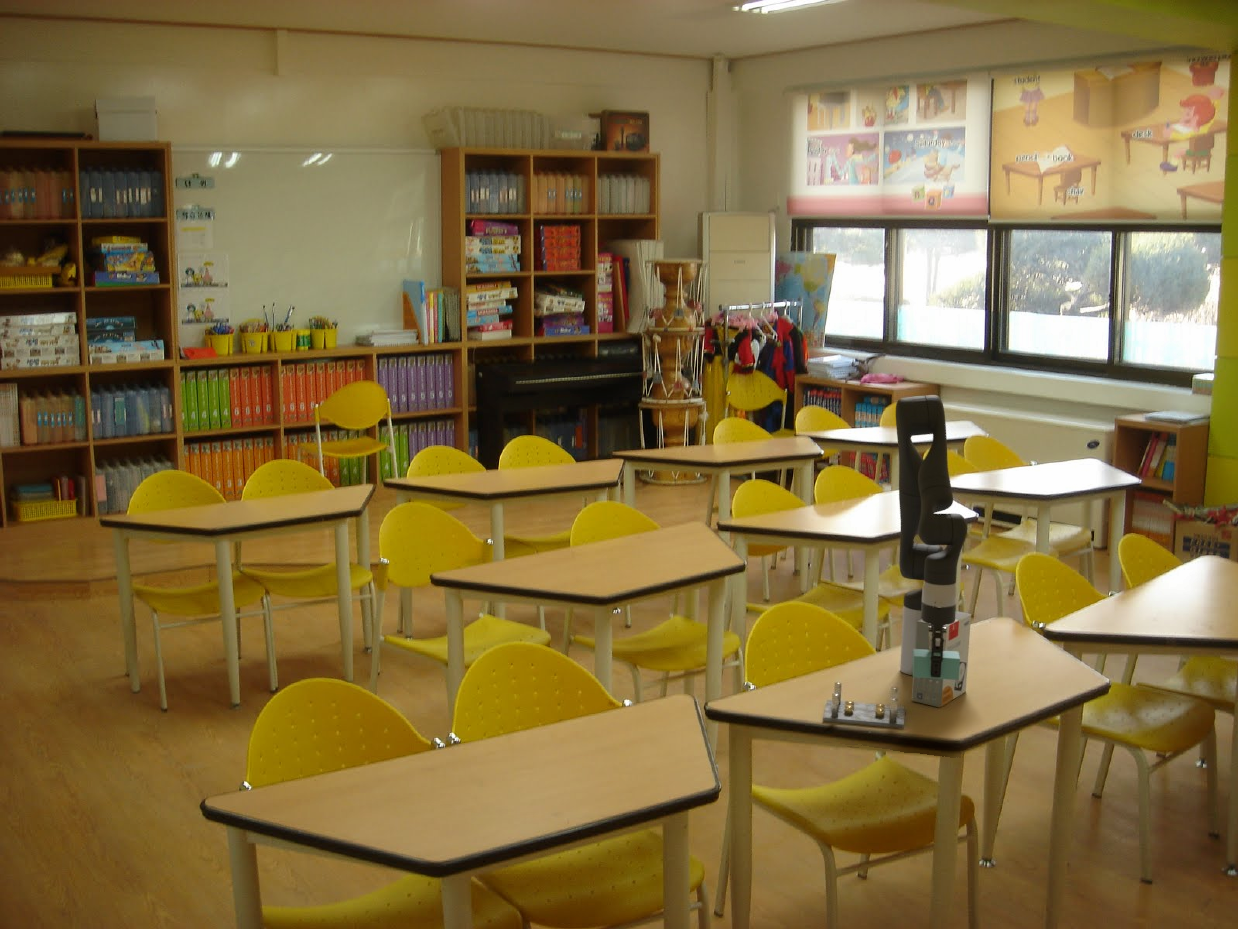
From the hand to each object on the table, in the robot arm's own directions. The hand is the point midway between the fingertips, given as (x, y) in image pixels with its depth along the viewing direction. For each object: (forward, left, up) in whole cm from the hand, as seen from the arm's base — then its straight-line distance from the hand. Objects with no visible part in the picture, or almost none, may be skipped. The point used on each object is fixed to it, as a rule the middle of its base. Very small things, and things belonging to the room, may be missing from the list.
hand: (935, 672), depth 296 cm
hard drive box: (-18, +2, -12) cm, 21 cm away
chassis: (0, -15, -12) cm, 19 cm away
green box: (0, 0, -1) cm, 1 cm away
